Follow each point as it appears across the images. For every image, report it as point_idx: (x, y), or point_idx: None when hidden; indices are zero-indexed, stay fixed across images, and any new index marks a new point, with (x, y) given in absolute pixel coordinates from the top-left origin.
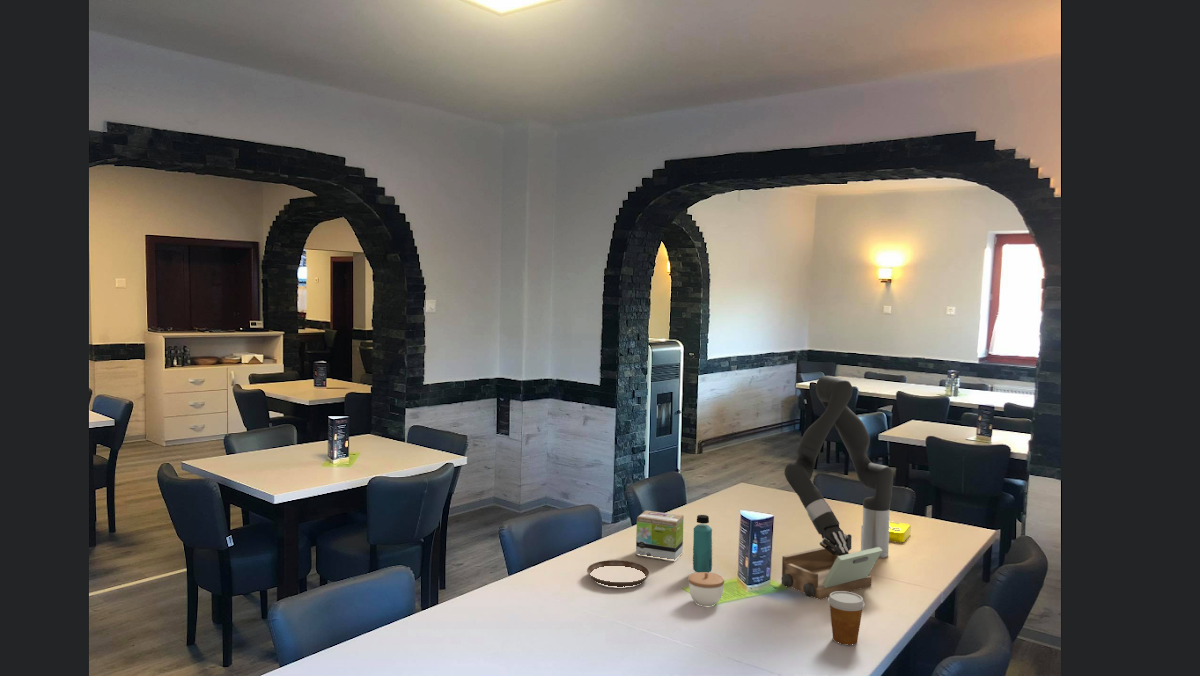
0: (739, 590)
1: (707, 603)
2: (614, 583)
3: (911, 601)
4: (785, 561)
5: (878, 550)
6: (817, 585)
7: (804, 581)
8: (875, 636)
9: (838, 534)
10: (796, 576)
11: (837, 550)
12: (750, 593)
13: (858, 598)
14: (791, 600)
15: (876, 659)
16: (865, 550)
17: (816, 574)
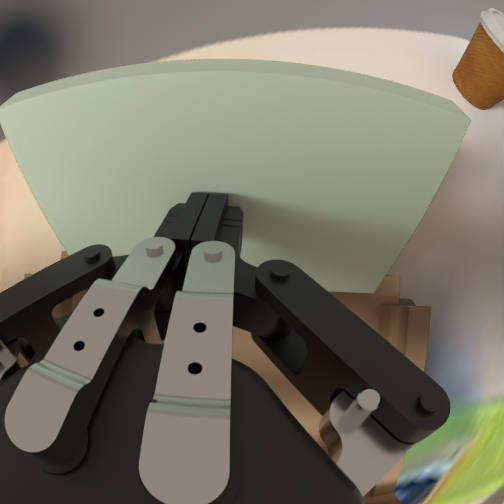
0: (482, 445)
1: None
2: None
3: None
4: (395, 498)
5: (33, 88)
6: (386, 305)
7: None
8: (407, 53)
9: (74, 422)
10: None
11: (297, 271)
12: (484, 419)
13: (495, 17)
14: (454, 325)
15: (454, 37)
16: (117, 76)
17: (415, 311)
